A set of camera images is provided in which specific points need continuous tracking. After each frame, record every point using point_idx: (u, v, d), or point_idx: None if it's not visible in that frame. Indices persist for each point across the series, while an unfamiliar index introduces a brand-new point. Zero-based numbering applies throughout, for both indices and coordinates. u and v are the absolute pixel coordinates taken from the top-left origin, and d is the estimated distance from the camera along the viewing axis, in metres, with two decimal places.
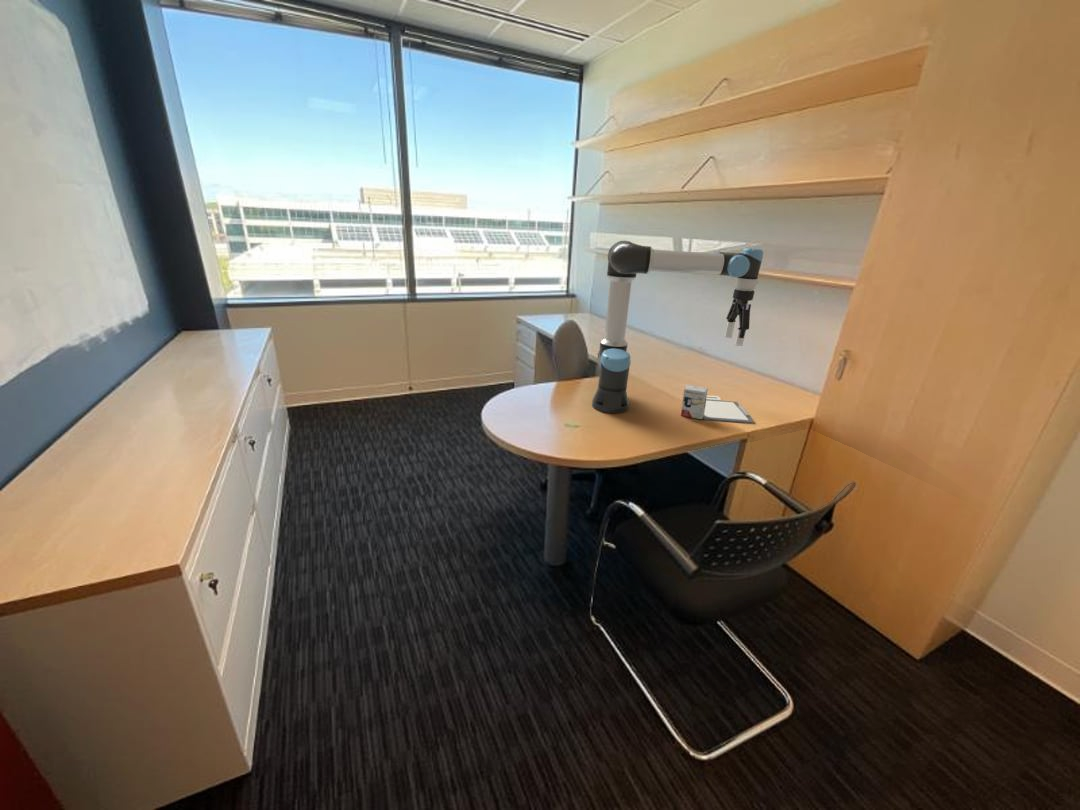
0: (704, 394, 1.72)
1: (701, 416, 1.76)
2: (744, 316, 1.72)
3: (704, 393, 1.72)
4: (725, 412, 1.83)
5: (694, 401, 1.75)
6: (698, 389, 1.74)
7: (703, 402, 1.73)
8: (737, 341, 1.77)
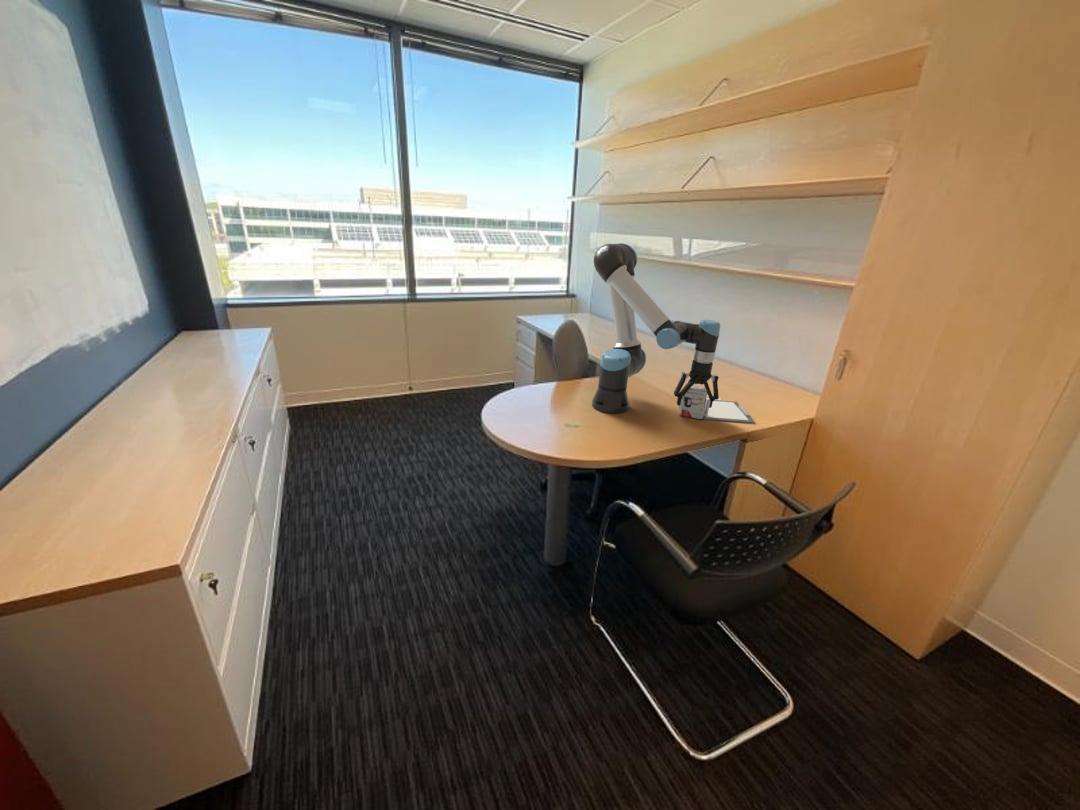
0: (704, 394, 1.72)
1: (701, 416, 1.76)
2: (678, 383, 1.76)
3: (704, 393, 1.72)
4: (725, 412, 1.83)
5: (694, 401, 1.75)
6: (698, 389, 1.74)
7: (703, 402, 1.73)
8: (678, 407, 1.80)
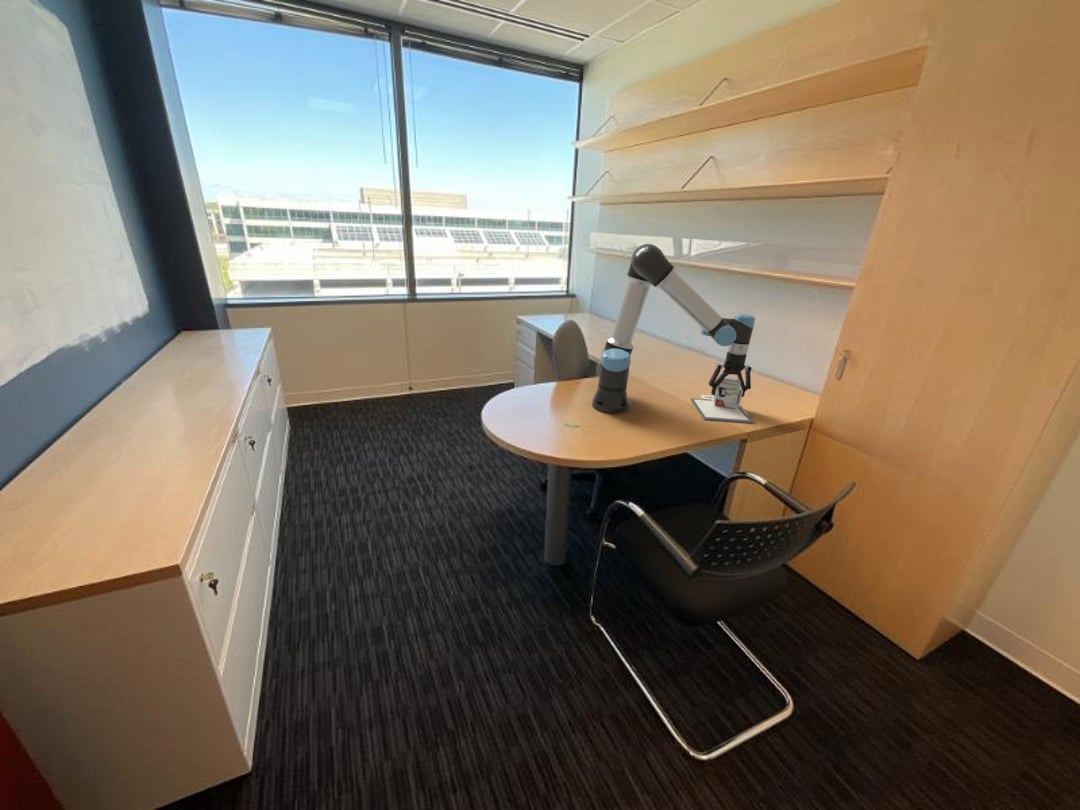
0: (738, 384, 1.83)
1: (734, 405, 1.86)
2: (713, 374, 1.86)
3: (738, 384, 1.82)
4: (725, 412, 1.83)
5: (729, 391, 1.85)
6: (732, 380, 1.85)
7: (737, 392, 1.84)
8: (712, 397, 1.90)
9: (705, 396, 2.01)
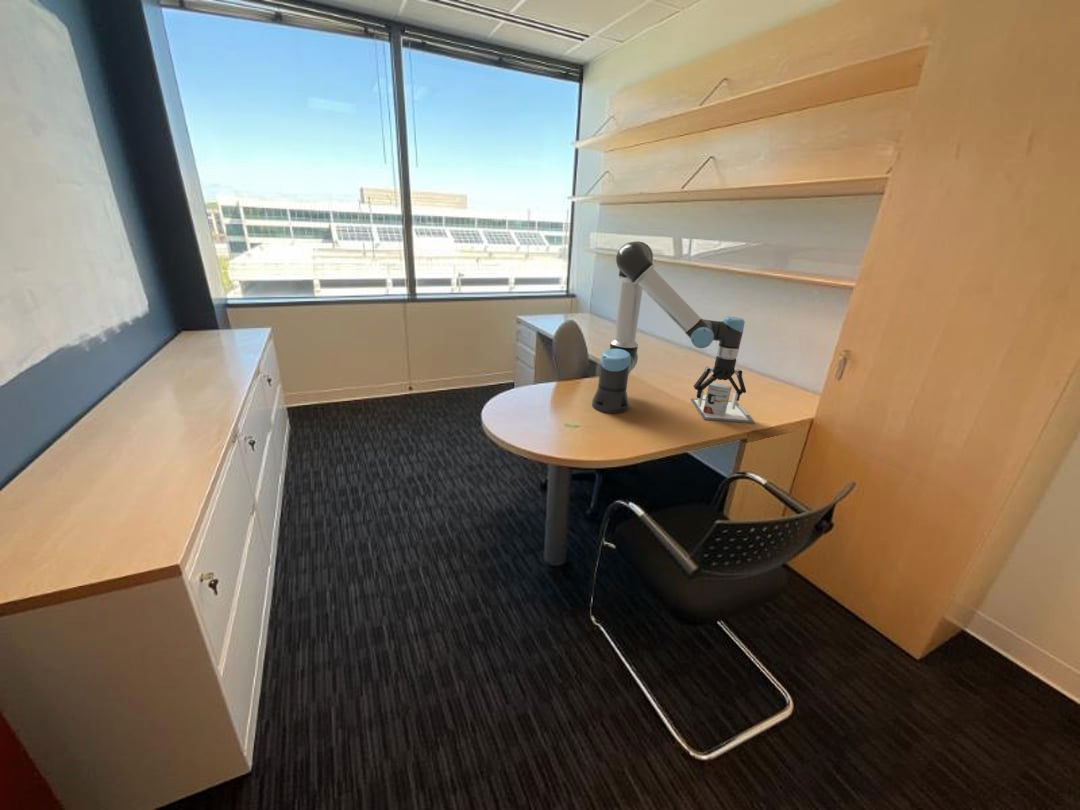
0: (728, 392, 1.75)
1: (723, 413, 1.79)
2: (700, 377, 1.78)
3: (728, 391, 1.75)
4: None
5: (718, 398, 1.78)
6: (722, 387, 1.77)
7: (727, 400, 1.76)
8: (698, 400, 1.82)
9: (705, 396, 2.01)
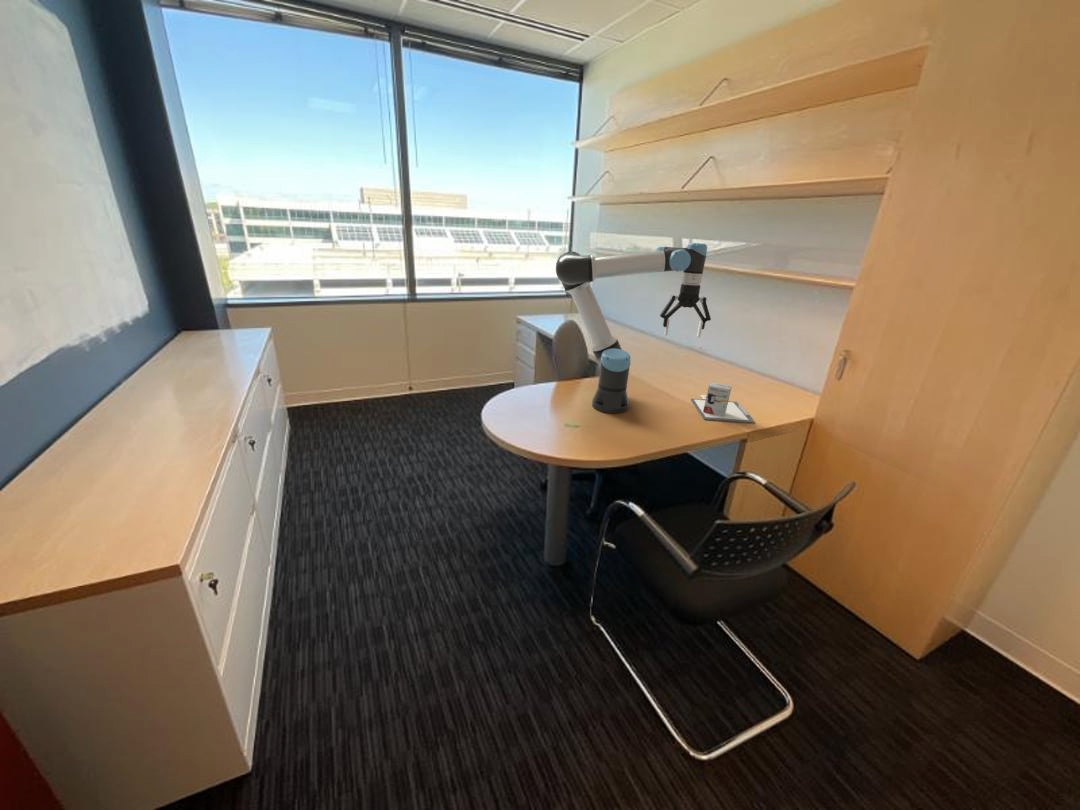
0: (728, 392, 1.75)
1: (723, 413, 1.79)
2: (666, 305, 1.82)
3: (728, 391, 1.75)
4: None
5: (718, 398, 1.77)
6: (722, 387, 1.77)
7: (727, 400, 1.76)
8: None
9: (705, 396, 2.01)
